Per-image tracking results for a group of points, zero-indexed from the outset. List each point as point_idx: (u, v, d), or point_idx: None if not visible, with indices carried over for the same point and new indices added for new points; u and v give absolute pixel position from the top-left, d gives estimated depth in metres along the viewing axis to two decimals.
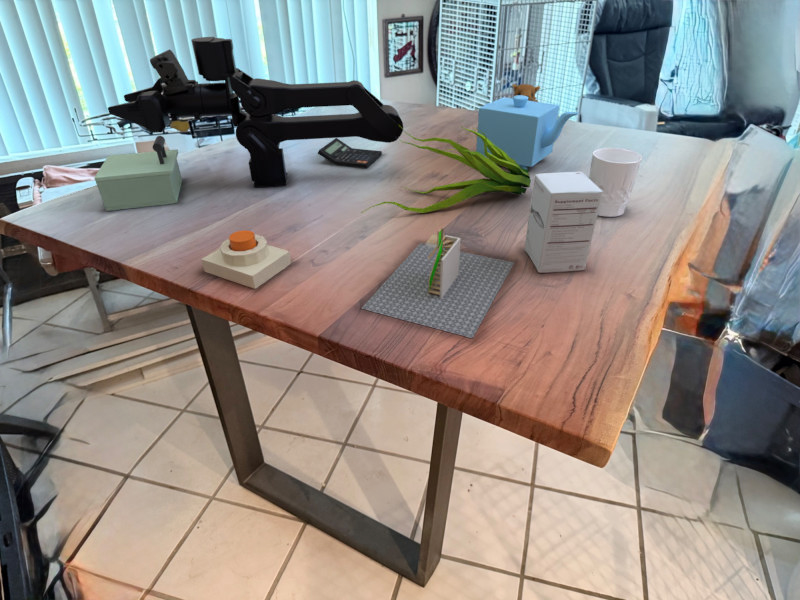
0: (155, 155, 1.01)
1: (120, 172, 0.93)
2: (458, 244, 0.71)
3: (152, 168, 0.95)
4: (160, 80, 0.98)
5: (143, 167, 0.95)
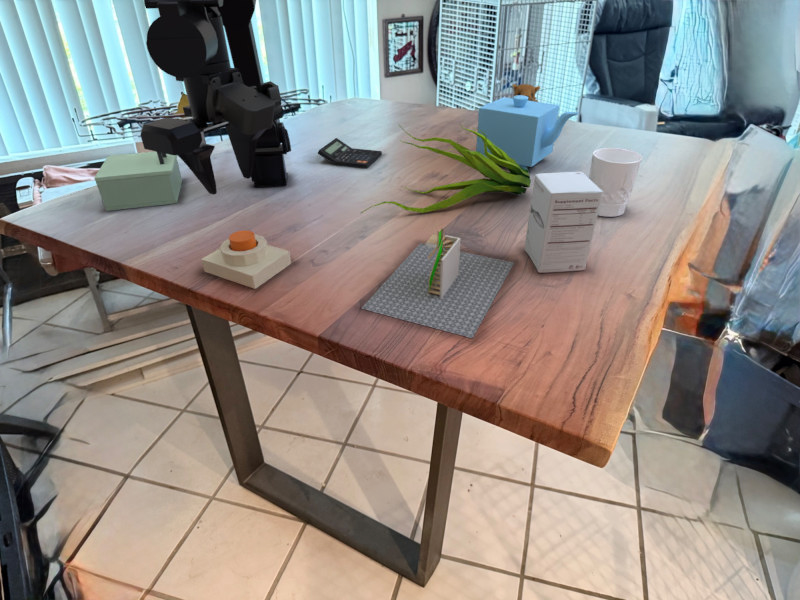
0: (155, 155, 1.01)
1: (120, 172, 0.93)
2: (458, 244, 0.71)
3: (152, 168, 0.95)
4: (206, 147, 0.61)
5: (143, 167, 0.95)
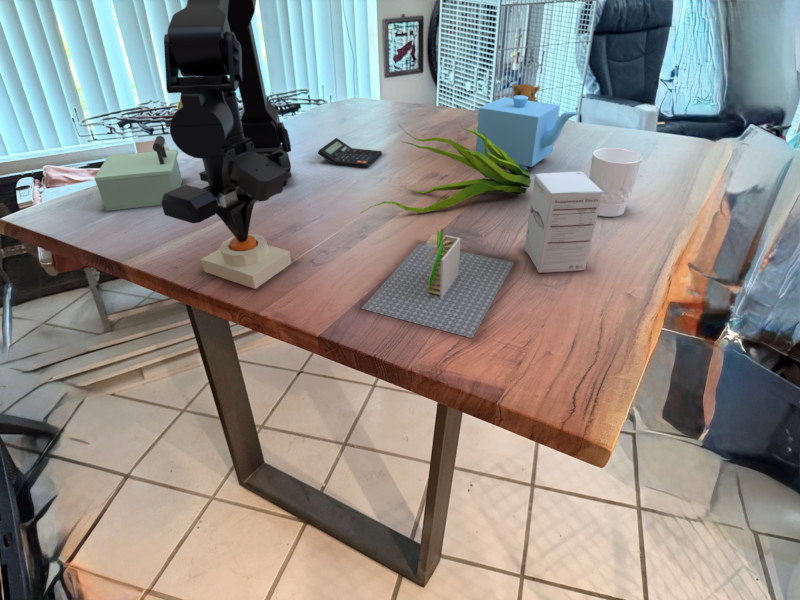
0: (155, 155, 1.01)
1: (120, 172, 0.93)
2: (458, 244, 0.71)
3: (152, 168, 0.95)
4: (238, 203, 0.68)
5: (143, 167, 0.95)
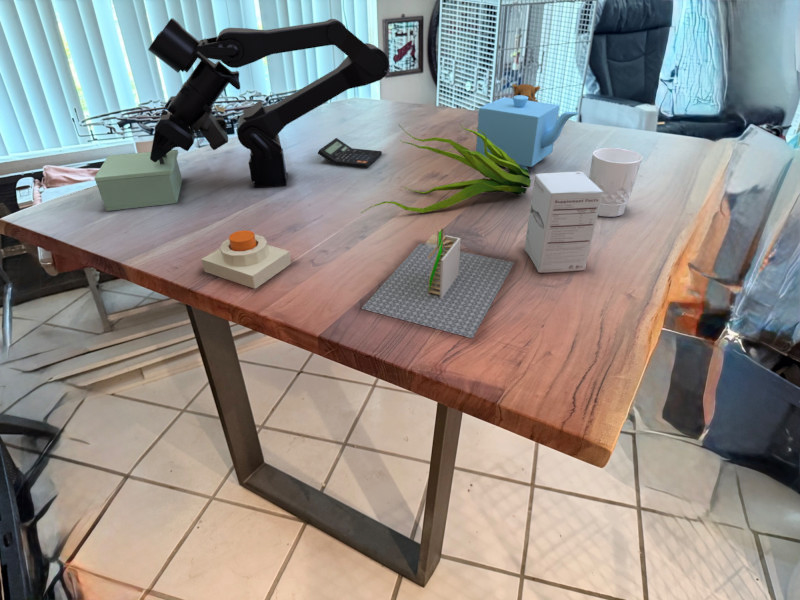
0: None
1: (120, 172, 0.93)
2: (458, 244, 0.71)
3: (152, 168, 0.95)
4: None
5: (143, 167, 0.95)
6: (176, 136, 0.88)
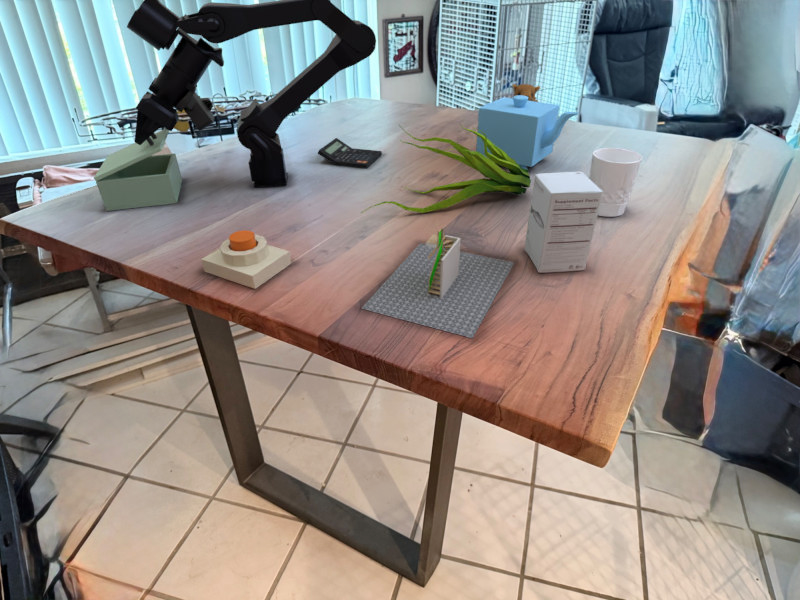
0: (147, 140, 0.99)
1: (115, 165, 0.92)
2: (458, 244, 0.71)
3: (143, 151, 0.93)
4: None
5: (135, 153, 0.94)
6: (158, 115, 0.86)
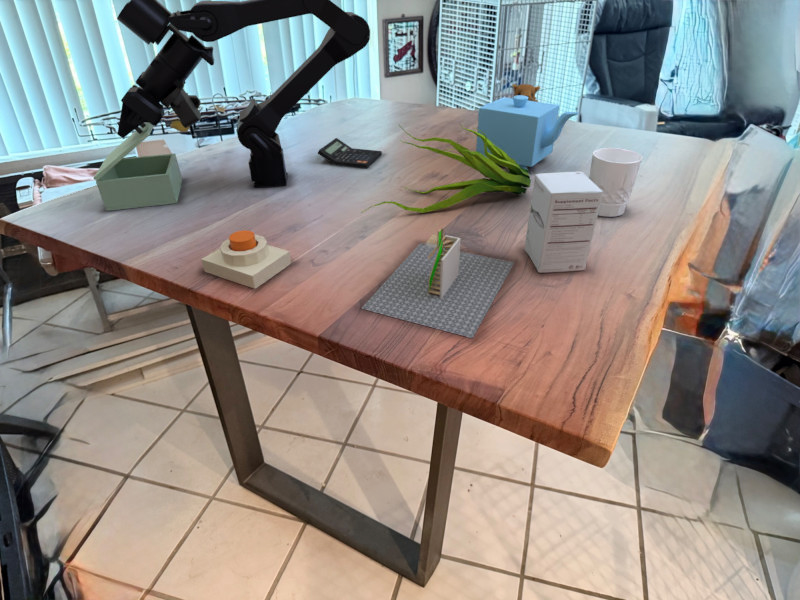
0: None
1: (111, 161, 0.92)
2: (458, 244, 0.71)
3: (133, 141, 0.91)
4: None
5: (127, 145, 0.93)
6: (144, 110, 0.84)
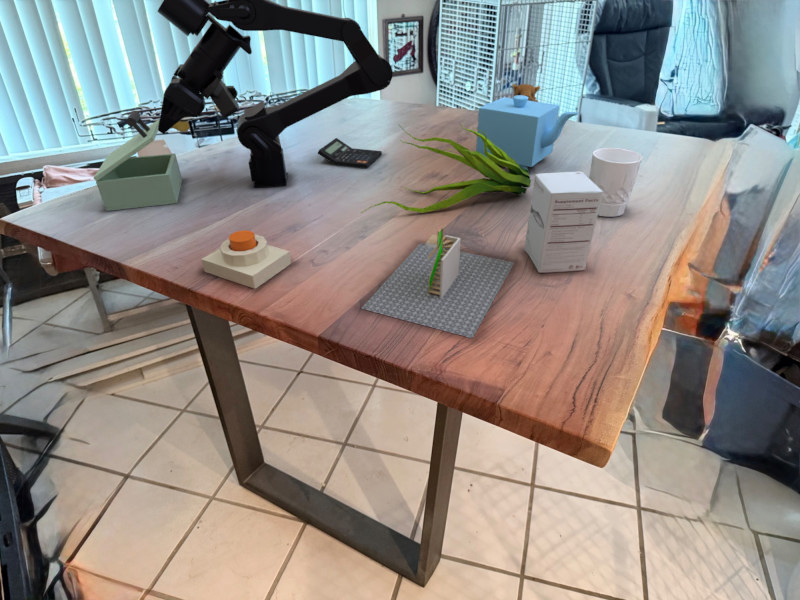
0: None
1: (112, 162, 0.92)
2: (458, 244, 0.71)
3: (137, 144, 0.92)
4: None
5: (130, 148, 0.93)
6: (187, 100, 0.85)
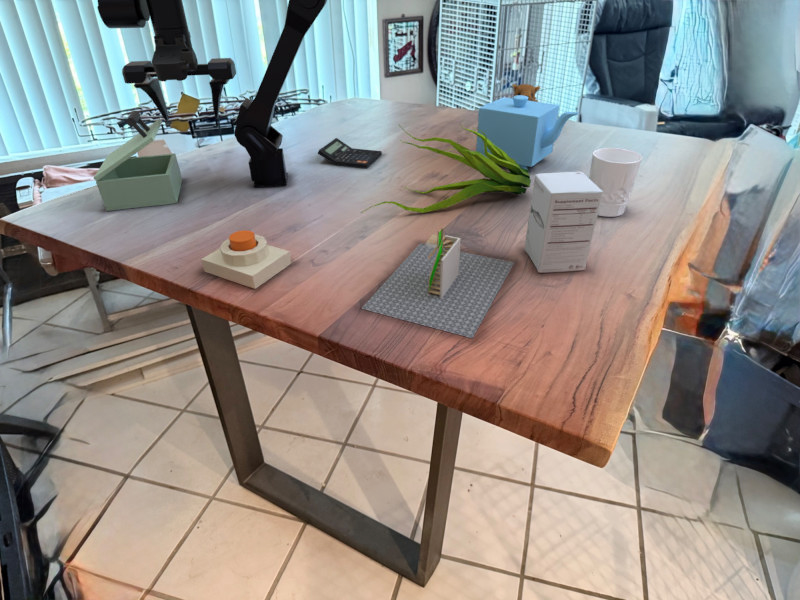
0: None
1: (112, 162, 0.92)
2: (458, 244, 0.71)
3: (137, 144, 0.92)
4: (145, 84, 0.91)
5: (130, 148, 0.93)
6: None
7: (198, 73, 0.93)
